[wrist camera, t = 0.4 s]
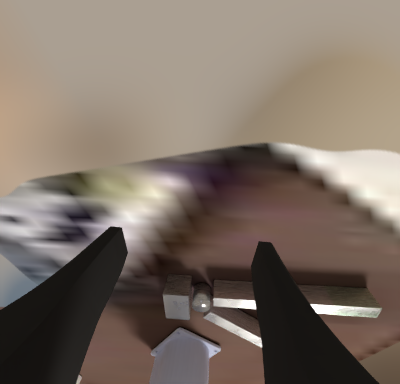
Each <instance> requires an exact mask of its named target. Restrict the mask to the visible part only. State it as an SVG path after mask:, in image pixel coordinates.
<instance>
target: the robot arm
mask: <svg viewBox="0 0 400 384" xmlns="http://www.w3.org/2000/svg"><path fill="white" fill-rule="evenodd" d="M127 254H128V251H127V247H126V243H125V239H124V235H123V231H122V228H120V227H109V228H108V229H107V230H106V231H105V232H104V233H103V234H101V235H100V236H99V237H98V238H97V239H96V240H95V241H93V242H92V243H91V244H90V245H89V246H88V247H87V248H85V249H84V250H83V251H82V252H81V253H80V254H78V255H77V256H76V257H75V258H74V259H73V260H71V261H70V262H69V263H68V264H66V265H65V266H64V267H62V268H61V269H60V270H59V271H57V272H56V273H55V274H54V275H52V276H51V277H50V278H48V279H47V280H45V281H44V282H43V283H41V284H40V285H38V286H37V287H36V288H34V289H33V290H32V291H30V292H28V293H27V294H25V295H24V296H22V297H21V298H19V299H18V300H16V301H14V302H13V303H11V304H10V305H8V306H6V307H5V308H3V309H2V310H0V384H76V382H77V379H78V376H79V373H80V370H81V367H82V364H83V361H84V358H85V355H86V352H87V350H88V347H89V344H90V341H91V339H92V336H93V333H94V331H95V328H96V325H97V323H98V320H99V318H100V316H101V313H102V311H103V309H104V307H105V305H106V303H107V301H108V299H109V297H110V295H111V293H112V290H113V288H114V286H115V284H116V282H117V280H118V278H119V276H120V274H121V271H122V269H123V266H124V263H125V260H126V257H127ZM251 270H252V286H253V292H254V298H255V304H256V310H257V316H258V322H259V327H260V334H261V341H262V352H263V364H264V377H265V384H379V383H378V382H377V381H376V380H375V379H374V378H373V377H372V376H371V375H370V374H369V373H368V372H367V370H366V369H365V368H364V367H363V366H362V365H361V364H360V363H359V362H358V361H357V360H356V358H355V357H354V356H353V355H352V354H351V353H350V352H349V351H348V350H347V349H346V347H345V346H344V345H343V344H342V343H341V342H340V341H339V339H338V338H337V337H336V336H335V335H334V334H333V332H332V331H331V330H330V329H329V328H328V326H327V325H326V324H325V323H324V321H323V320H322V319H321V318H320V316H319V315H318V314H317V312H316V311H315V310H314V308H313V307H312V306H311V304H310V303H309V302H308V300H307V299H306V297H305V296H304V295H303V293H302V292H301V290H300V289H299V287H298V286H297V284H296V283H295V281H294V280H293V278H292V277H291V275H290V274H289V272H288V270H287V269H286V267H285V265H284V264H283V262H282V260H281V259H280V257H279V255H278V253H277V252H276V250H275V248H274V246H273V244H272V243H270V242H260V241H259V242H258V246H257V249H256V252H255V255H254V259H253V262H252V265H251ZM220 350H221V347H220V346H218V345H216V344H214V343H212V342H210V341H208V340H206V339H204V338H202V337H200V336H198V335H196V334H194V333H192V332H190V331H188V330H185V329H183V328H181V327H179V328H177V329H176V330H175V331H174V332H173V333H172V334H171V335H169V336H168V337H167V338H166V339H165V340H164V341H162V342H161V343H160V344H159V345H158V346H157V347H156V348H154V349H153V350H152V351H151V355H153V356H155V361H154V365H153V369H152V373H151V378H150V382H149V384H208V380H209V358H210V357H212V356H213V355H215V354H216V353H218V352H219V351H220Z"/></svg>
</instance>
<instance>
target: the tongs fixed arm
mask: <svg viewBox="0 0 400 384" xmlns="http://www.w3.org/2000/svg"><path fill="white" fill-rule="evenodd" d="M297 286H298V287H299V289H300V290H301V292H302V293H303V295H304V296H305V297H306V299H307V300H308V302H309V303H310V304H311V306H312V307H313V308H314V310H315V311H316V312H317V313H320V314H331V315H345V316H360V317H374V318H377V317H378V315H379V313H380V311H381V310H382V308H381V306H380V305H379V304H378V302H377V301H376V300H375V298H374V297H373V295H372V294H371V293H370V291H369V290H368V289H367V288H354V287H337V286H315V285H297ZM163 300H164V307H165V314H166V318H170V319H184V320H190V314H191V306H192V276H191V275H177V274H168V277H167V281H166V285H165V288H164V292H163ZM213 306H217V307H232V308H246V309H256V304H255V298H254V292H253V286H252V282H246V281H228V280H214V302H213Z"/></svg>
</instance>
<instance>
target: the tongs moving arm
mask: <svg viewBox="0 0 400 384" xmlns="http://www.w3.org/2000/svg"><path fill="white" fill-rule="evenodd" d="M213 302H214V296H212V295H211V288H210V286H208V285H207V284H204V283H199V284H197V285H195V287H194V293H193V301H192V307H193V309H194V310H196V311H198V312H204V316H203V318H205V319H207V320H209V321H211V322H213V323H215V324H217V325H219V326H220V327H222V328H224V329H226V330H228V331H230V332H232V333H234V334H236V335H238V336H240V337H242V338H244V339H246V340H248V341H250V342H252V343H254V344H256V345H258V346H260V347H262V341H261V334H260V327H259V322H258V320H257V319H255V318H253V317H251V316H250V315H248V314H246V313H244V312H242V311H240V310H238V309H237V308H232V307H217V306H213Z"/></svg>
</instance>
